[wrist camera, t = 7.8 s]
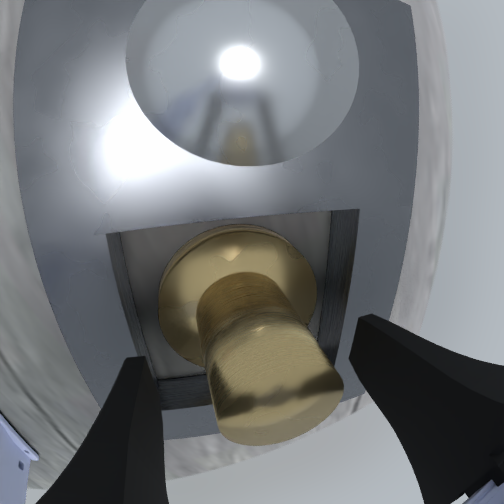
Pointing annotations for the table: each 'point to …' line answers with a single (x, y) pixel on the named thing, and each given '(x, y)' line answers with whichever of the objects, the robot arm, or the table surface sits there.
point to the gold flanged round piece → (250, 332)
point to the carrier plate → (172, 189)
